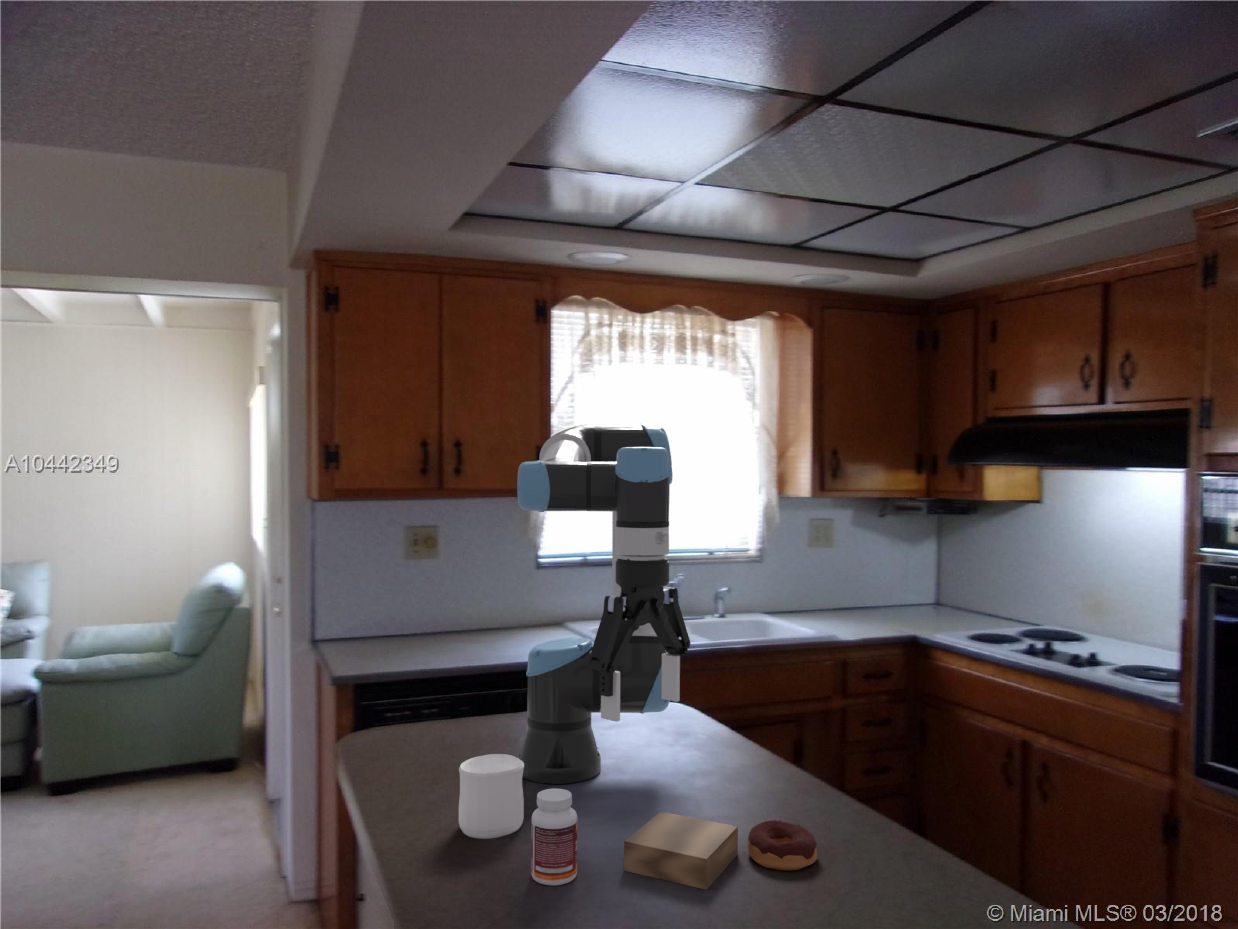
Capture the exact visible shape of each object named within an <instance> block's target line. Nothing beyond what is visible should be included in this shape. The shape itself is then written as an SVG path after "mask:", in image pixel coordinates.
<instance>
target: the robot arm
mask: <svg viewBox="0 0 1238 929" xmlns="http://www.w3.org/2000/svg"><path fill="white" fill-rule="evenodd" d="M538 457H539V460H533V461H524V462H521V464H520V465H519V466H518V469H517V470H518V471H517V481H516V482H517V483H516V484H517V488H516V490H517V491H516V492H517V502H518V506H519V508H520V509H522V510H523V511H528V512H529V511H530V512H531V511H532V512H533V511H535V512H539V513H545V512H612V530H611V531H612V533H611V534H612V540H611V542H612V543H611V546H612V549H611V552H612V554H611V555H612V556H611V557H612V560H611V561H612V563H611V564H612V565H611V566H612V569H611V570H612V571H611V572H612V574H611V578H612V579H611V580H612V582H611V585H612V586H611V588H612V590H611V595H606V596H605V597H604V600H603V613H602V615H601V618H600V622H599V625H598V629H597V631H596V634H595V637H594V642H592V639H591V638H588V637H583V636H582V637H578V636H577V637H576V636H575V637H573V636H572V637H565V638H557V639H553V640H548V641H544V642H542V643H539V644H537V645H535V646H533V647H532V648H531V650H530V651H529V653H528V655H527V669H526V671H525V672H526V673H525V674H526V677H527V699H526V700H527V701H526V702H527V705H526V709H527V712H526V713H527V716H526V731H525V734H524V737H523V740H522V745H521V750H520V752H519V753H518V755H517V758H518V759H520V760H522V761H523V763H524V769H523V776H522V779H526V780H529V781H532V782H535V783H536V782H537V783H540V784H541V783H542V784H554V785H555V784H556V785H558V784H572V783H578V782H583V781H586V780H589V779H592V778H594V777H596V776H597V775H599V773H601V770H602V765H601V764H602V763H601V762H602V758H601V754H600V752H599V750H598V746H597V741H596V738H595V735H594V731H593V727H592V713H593V714H594V713H596V714H597V713H599V714H600V718H601V719H602V720H603V719H604V720H608V721H611V722H616V723H617V722H620V721H621V714H628V713H629V714H630V713H631V714H642V715H643V714H645V713H661V712H664V711H665V710H667V708H668V706H669V704H670V701H672V702H676V703H677V702H680V700H681V699H680V698H681V697H680V696H681V693H680V692H681V690H680V687H681V685H680V682H681V681H680V680H681V678H680V676H681V671H682V669H681V664H682V663H681V661H682V660H681V658H682V657H681V656H687V654H688V653H689V652H688V649H690V648H691V640H690V636H689V632H688V630H687V627H686V624H685V621H684V617H683V613H682V609H681V607H680V604H679V593H678V591H679V590H678V589H677V587H671V586H669V587H668V585H669V583H670V561H669V559H668V558H665V557H666V556H668V555H669V554H670V485H671V484H672V483H673V467H672V454H671V447H670V442H669V439H668V435H667V432H666V430H665V428H663V427H662V426H660V425H657V424H656V425H653V424H643V423H639V424H594V423H590V424H582V425H576V426H573V427H569V428H566V429H563V430H561V431H559V432H556V433H555V434H553V435H552V436H551V437H550V438H548V439H547V440H545V442H544V443H543V445H542V447H541V449H540V452H539V456H538Z"/></svg>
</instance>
